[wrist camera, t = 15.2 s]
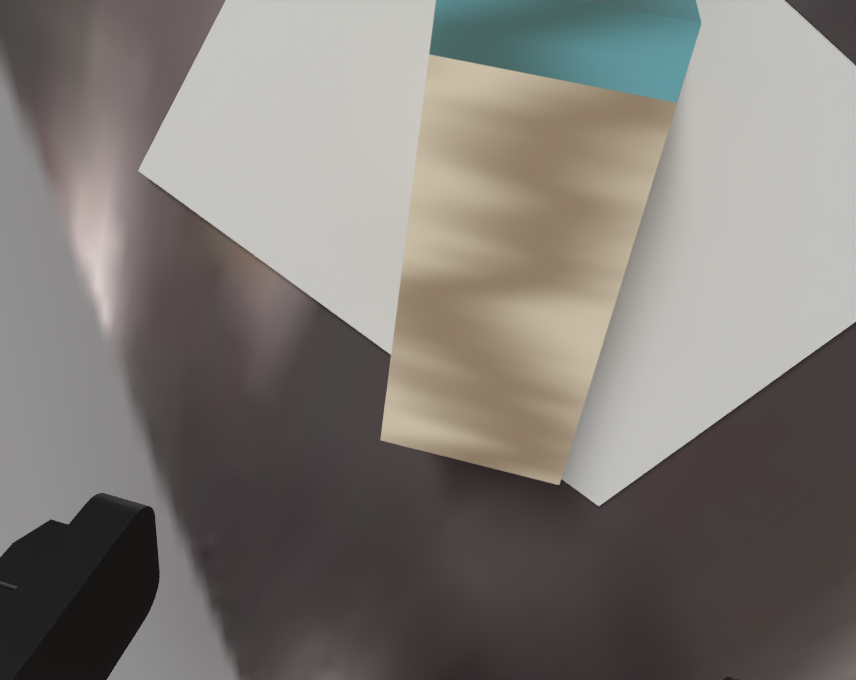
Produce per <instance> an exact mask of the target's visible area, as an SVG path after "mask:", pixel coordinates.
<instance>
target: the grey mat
mask: <svg viewBox="0 0 856 680" xmlns="http://www.w3.org/2000/svg"><path fill="white" fill-rule="evenodd" d="M696 3H697V7H698V11H699V15H700V19H701V23H702V24H701V27H700V30H699V34H698V37H697V40H696V43H695V47H694V50H693V53H692V56H691V59H690V63H689V66H688V69H687V72H686V76H685V79H684V82H683V85H682V89H681V92H680V95H679V98H678V102H677V105H676V108H675V111H674V115H673V118H672V121H671V124H670V128H669V131H668V134H667V137H666V141H665V144H664V147H663V150H662V154H661V157H660V160H659V163H658V166H657V170H656V173H655V176H654V179H653V183H652V186H651V189H650V192H649V196H648V199H647V202H646V205H645V209H644V212H643V215H642V218H641V222H640V225H639V228H638V231H637V235H636V238H635V241H634V244H633V248H632V251H631V254H630V257H629V261H628V264H627V267H626V270H625V274H624V277H623V280H622V283H621V286H620V290H619V293H618V296H617V299H616V303H615V306H614V309H613V312H612V316H611V319H610V322H609V325H608V329H607V332H606V335H605V338H604V342H603V345H602V348H601V351H600V355H599V358H598V361H597V364H596V368H595V371H594V374H593V377H592V381H591V384H590V387H589V390H588V393H587V397H586V400H585V403H584V406H583V410H582V413H581V416H580V419H579V423H578V426H577V429H576V432H575V436H574V439H573V442H572V445H571V449H570V452H569V455H568V458H567V462H566V465H565V468H564V471H563V475H562V478H561V479H562V480H563V481H565V482H566V483H568V484H569V485H570V486H572V487H573V488H574V489H576V490H577V491H579V492H580V493H581V494H583V495H584V496H585V497H587V498H588V499H590V500H591V501H592V502H594V503H595V504H596V505H598V506H600V505H601V504H603V503H604V502H605V501H607V500H608V499H610V498H611V497H612V496H614V495H615V494H617V493H618V492H619V491H621V490H622V489H624V488H625V487H626V486H628V485H629V484H630V483H632V482H633V481H635V480H636V479H637V478H639V477H640V476H642V475H643V474H644V473H646V472H647V471H649V470H650V469H651V468H653V467H654V466H655V465H657V464H658V463H660V462H661V461H662V460H664V459H665V458H667V457H668V456H669V455H671V454H672V453H674V452H675V451H676V450H678V449H679V448H681V447H682V446H683V445H685V444H686V443H687V442H689V441H690V440H692V439H693V438H694V437H696V436H697V435H699V434H700V433H701V432H703V431H704V430H706V429H707V428H708V427H710V426H711V425H713V424H714V423H715V422H717V421H718V420H719V419H721V418H722V417H724V416H725V415H726V414H728V413H729V412H731V411H732V410H733V409H735V408H736V407H738V406H739V405H740V404H742V403H743V402H745V401H746V400H747V399H749V398H750V397H751V396H753V395H754V394H756V393H757V392H758V391H760V390H761V389H763V388H764V387H765V386H767V385H768V384H770V383H771V382H772V381H774V380H775V379H777V378H778V377H779V376H781V375H782V374H783V373H785V372H786V371H788V370H789V369H790V368H792V367H793V366H795V365H796V364H797V363H799V362H800V361H802V360H803V359H804V358H806V357H807V356H808V355H810V354H811V353H813V352H814V351H815V350H817V349H818V348H820V347H821V346H822V345H824V344H825V343H827V342H828V341H829V340H831V339H832V338H834V337H835V336H836V335H838V334H839V333H840V332H842V331H843V330H845V329H846V328H847V327H849V326H850V325H852V324H853V323H854V322H856V65H855V64H853V63H852V62H851V61H850V60H849V59H848V58H847V57H846V56H845V55H844V54H843V53H841V52H840V51H839V50H838V49H837V48H836V47H835V46H834V45H833V44H832V43H831V42H830V41H828V40H827V39H826V38H825V37H824V36H823V35H822V34H821V33H820V32H819V31H818V30H816V29H815V28H814V27H813V26H812V25H811V24H810V23H809V22H808V21H807V20H806V19H805V18H803V17H802V16H801V15H800V14H799V13H798V12H797V11H796V10H795V9H794V8H793V7H791V6H790V5H789V4H788V3H787V2H786V1H785V0H696ZM435 4H436V0H226V1H225V3H224V5H223V7H222V9H221V11H220V13H219V15H218V17H217V19H216V21H215V23H214V24H213V26H212V28H211V30H210V32H209V34H208V36H207V38H206V40H205V42H204V44H203V46H202V48H201V50H200V52H199V54H198V56H197V57H196V59H195V61H194V63H193V65H192V67H191V69H190V71H189V73H188V75H187V77H186V79H185V81H184V83H183V85H182V87H181V89H180V90H179V92H178V94H177V96H176V98H175V100H174V102H173V104H172V106H171V108H170V110H169V112H168V114H167V116H166V118H165V120H164V122H163V123H162V125H161V127H160V129H159V131H158V133H157V135H156V137H155V139H154V141H153V143H152V145H151V147H150V149H149V151H148V153H147V155H146V156H145V158H144V160H143V162H142V164H141V166H140V168H139V170H138V171H139V172H141V173H142V174H143V175H145V176H146V177H147V178H149V179H150V180H152V181H153V182H154V183H156V184H157V185H158V186H160V187H161V188H163V189H164V190H165V191H167V192H168V193H169V194H171V195H172V196H174V197H175V198H176V199H178V200H179V201H180V202H182V203H183V204H185V205H186V206H187V207H189V208H190V209H191V210H193V211H194V212H196V213H197V214H198V215H200V216H201V217H202V218H204V219H205V220H207V221H208V222H209V223H211V224H212V225H213V226H215V227H216V228H217V229H219V230H220V231H222V232H223V233H224V234H226V235H227V236H228V237H230V238H231V239H233V240H234V241H235V242H237V243H238V244H239V245H241V246H242V247H244V248H245V249H246V250H248V251H249V252H250V253H252V254H253V255H255V256H256V257H257V258H259V259H260V260H261V261H263V262H264V263H266V264H267V265H268V266H270V267H271V268H272V269H274V270H275V271H277V272H278V273H279V274H281V275H282V276H283V277H285V278H286V279H288V280H289V281H290V282H292V283H293V284H294V285H296V286H297V287H298V288H300V289H301V290H303V291H304V292H305V293H307V294H308V295H309V296H311V297H312V298H314V299H315V300H316V301H318V302H319V303H320V304H322V305H323V306H325V307H326V308H327V309H329V310H330V311H331V312H333V313H334V314H336V315H337V316H338V317H340V318H341V319H342V320H344V321H345V322H347V323H348V324H349V325H351V326H352V327H353V328H355V329H356V330H358V331H359V332H360V333H362V334H363V335H364V336H366V337H367V338H369V339H370V340H371V341H373V342H374V343H375V344H377V345H378V346H379V347H381V348H382V349H384V350H385V351H386V352H388V353H389V354H390V355H391V353H392V345H393V337H394V329H395V321H396V313H397V305H398V297H399V289H400V281H401V274H402V266H403V258H404V250H405V242H406V234H407V226H408V218H409V210H410V202H411V194H412V186H413V178H414V170H415V162H416V155H417V147H418V139H419V131H420V123H421V115H422V107H423V99H424V91H425V83H426V75H427V67H428V59H429V51H430V44H431V36H432V28H433V20H434V12H435Z"/></svg>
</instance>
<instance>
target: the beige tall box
mask: <svg viewBox="0 0 856 680" xmlns="http://www.w3.org/2000/svg"><path fill="white" fill-rule="evenodd" d="M701 24H702V23H701V19H700V15H699V11H698V7H697V3H696V0H436V4H435V12H434V20H433V28H432V36H431V44H430V51H429V59H428V67H427V75H426V83H425V91H424V99H423V107H422V115H421V123H420V131H419V139H418V147H417V155H416V162H415V170H414V178H413V186H412V194H411V202H410V210H409V218H408V226H407V234H406V242H405V250H404V258H403V266H402V274H401V281H400V289H399V297H398V305H397V313H396V321H395V329H394V337H393V345H392V353H391V361H390V369H389V377H388V385H387V393H386V400H385V408H384V416H383V424H382V432H381V440H382V441H386V442H390V443H394V444H398V445H402V446H406V447H409V448H413V449H417V450H421V451H425V452H429V453H433V454H437V455H441V456H445V457H449V458H453V459H457V460H461V461H465V462H469V463H473V464H477V465H481V466H485V467H489V468H493V469H497V470H501V471H505V472H509V473H513V474H517V475H521V476H525V477H529V478H533V479H537V480H541V481H545V482H549V483H553V484H557V485H559V484H560V481H561V478H562V475H563V471H564V468H565V465H566V462H567V458H568V455H569V452H570V449H571V445H572V442H573V439H574V436H575V432H576V429H577V426H578V423H579V419H580V416H581V413H582V410H583V406H584V403H585V400H586V397H587V393H588V390H589V387H590V384H591V381H592V377H593V374H594V371H595V368H596V364H597V361H598V358H599V355H600V351H601V348H602V345H603V342H604V338H605V335H606V332H607V329H608V325H609V322H610V319H611V316H612V312H613V309H614V306H615V303H616V299H617V296H618V293H619V290H620V286H621V283H622V280H623V277H624V274H625V270H626V267H627V264H628V261H629V257H630V254H631V251H632V248H633V244H634V241H635V238H636V235H637V231H638V228H639V225H640V222H641V218H642V215H643V212H644V209H645V205H646V202H647V199H648V196H649V192H650V189H651V186H652V183H653V179H654V176H655V173H656V170H657V166H658V163H659V160H660V157H661V154H662V150H663V147H664V144H665V141H666V137H667V134H668V131H669V128H670V124H671V121H672V118H673V115H674V111H675V108H676V105H677V102H678V98H679V95H680V92H681V89H682V85H683V82H684V79H685V76H686V72H687V69H688V66H689V63H690V59H691V56H692V53H693V50H694V47H695V43H696V40H697V37H698V34H699V30H700V27H701Z"/></svg>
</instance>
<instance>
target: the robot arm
mask: <svg viewBox="0 0 856 680" xmlns="http://www.w3.org/2000/svg"><path fill="white" fill-rule="evenodd" d="M158 584H159V561H158V549H157V537H156V524H155V514H154V511H153V509H152V508H151V507H149V506H146V505H142V504H139V503H135V502H132V501H129V500H125V499H122V498H118V497H115V496H111V495H108V494H104V493H100V494H97V495H95V496H93V497H92V498H91V499H90V500H89V501H88V502H87V503H86V504H85V505H84V507H83V508H82V509H81V510H80V512H79V513H78V514H77V515H76V516H75V518H74V519H73V520H72V521H71V522H70V524H69V525H68V524H64V523H61V522H57V521H54V520H49V521H48V522H46V523H44V524H43V525H41V526H40V527H38V528H37V529H35V530H33V531H32V532H30V533H28V534H27V535H25V536H24V537H22V538H20V539H19V540H17V541H15V542H14V543H13V544H12V545H11V546H10V547H9V548H8V549H7V551H6V552H5V553H4V554H3V555H2V556H1V557H0V680H106V679H107V678H108V676H109V675H110V673H111V672H112V670H113V669H114V667H115V665H116V664H117V662H118V660H119V659H120V657H121V656H122V654H123V653H124V651H125V650H126V648H127V647H128V645H129V643H130V642H131V640H132V639H133V637H134V636H135V634H136V632H137V631H138V629H139V628H140V626H141V624H142V623H143V621H144V620H145V618H146V616H147V615H148V613H149V611H150V609H151V606H152V604H153V601H154V599H155V596H156V592H157V589H158ZM723 680H738V679H734V678H731V677H726V678H725V679H723Z"/></svg>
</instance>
